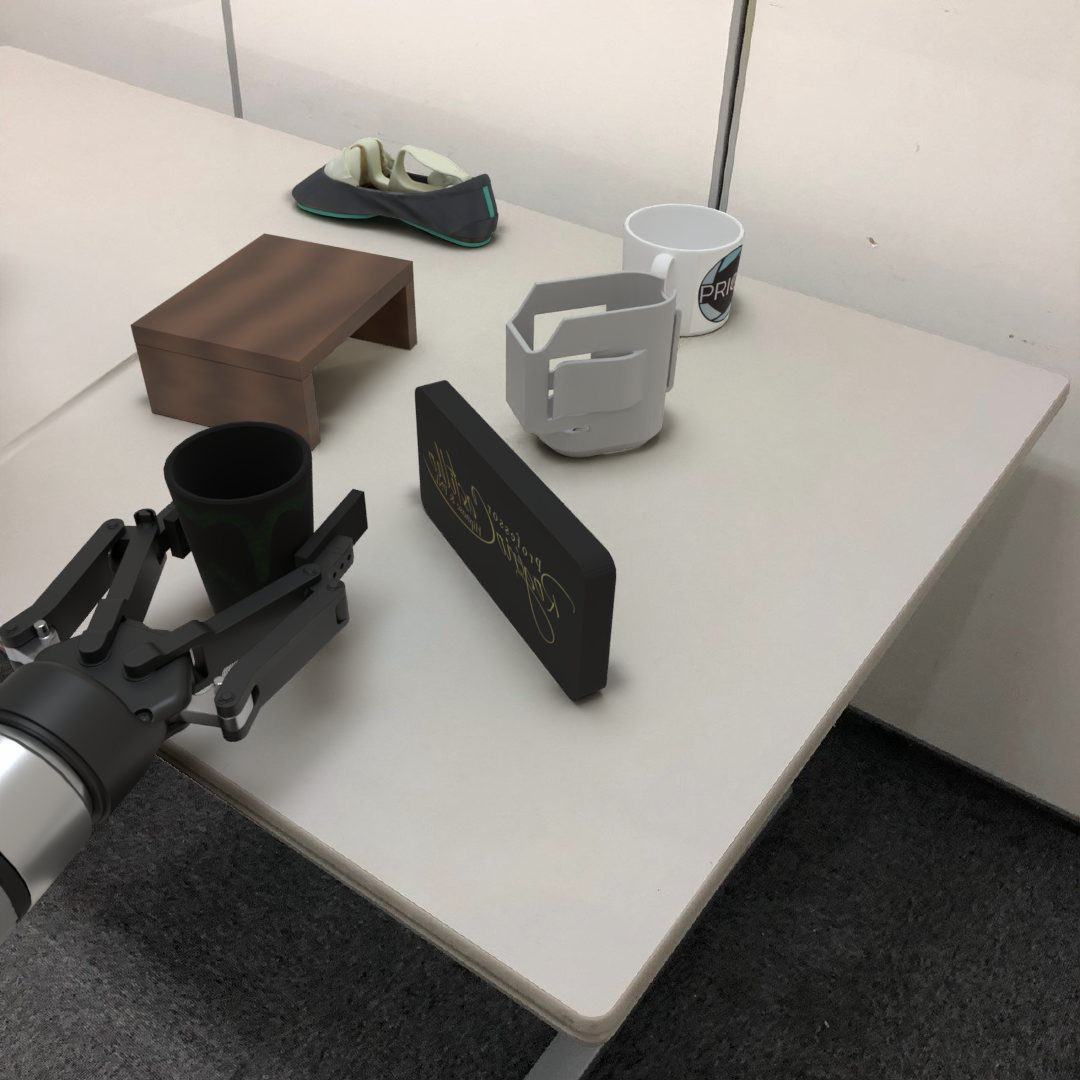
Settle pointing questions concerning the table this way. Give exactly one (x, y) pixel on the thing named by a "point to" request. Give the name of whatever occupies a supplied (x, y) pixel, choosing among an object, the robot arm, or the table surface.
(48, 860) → the robot arm
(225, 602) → the cup
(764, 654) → the table surface
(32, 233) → the table surface
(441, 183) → the ballet flat
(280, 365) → the shelf
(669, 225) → the mug
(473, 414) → the nameplate
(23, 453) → the table surface
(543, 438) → the cable organizer
